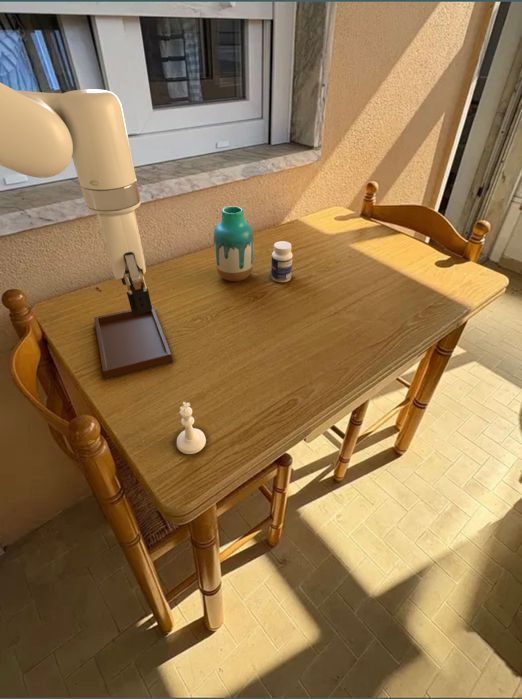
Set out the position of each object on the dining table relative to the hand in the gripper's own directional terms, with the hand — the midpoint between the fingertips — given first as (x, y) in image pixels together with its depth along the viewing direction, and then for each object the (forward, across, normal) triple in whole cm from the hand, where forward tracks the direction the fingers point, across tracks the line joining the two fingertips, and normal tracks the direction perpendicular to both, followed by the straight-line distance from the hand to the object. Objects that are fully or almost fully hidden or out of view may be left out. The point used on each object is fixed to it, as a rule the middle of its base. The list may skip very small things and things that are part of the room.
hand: (136, 296), depth 65 cm
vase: (+19, -30, +29) cm, 45 cm away
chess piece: (+19, +19, +2) cm, 27 cm away
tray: (+18, -12, -3) cm, 22 cm away
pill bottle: (+19, -24, +41) cm, 51 cm away
